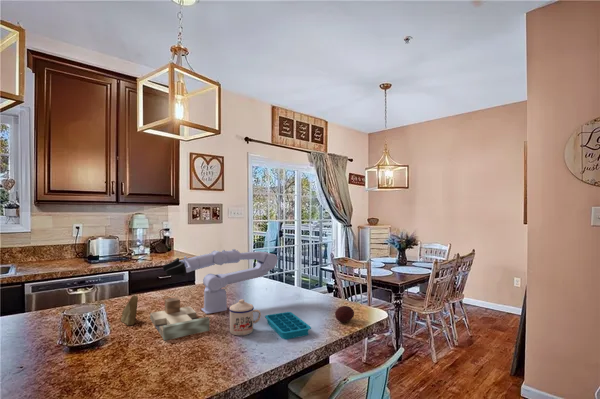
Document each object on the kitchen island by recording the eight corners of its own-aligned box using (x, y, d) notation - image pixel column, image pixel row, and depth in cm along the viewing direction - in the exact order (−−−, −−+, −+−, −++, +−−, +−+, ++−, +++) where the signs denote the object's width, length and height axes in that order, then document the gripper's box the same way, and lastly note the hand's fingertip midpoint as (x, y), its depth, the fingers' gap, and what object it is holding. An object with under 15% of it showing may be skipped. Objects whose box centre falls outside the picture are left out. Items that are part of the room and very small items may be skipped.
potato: (357, 320, 131) (357, 305, 131) (345, 326, 124) (345, 311, 124) (342, 316, 136) (342, 302, 136) (329, 322, 129) (329, 307, 129)
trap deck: (189, 311, 142) (189, 301, 142) (209, 330, 121) (209, 318, 121) (150, 319, 133) (150, 308, 133) (164, 340, 112) (164, 327, 112)
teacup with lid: (231, 337, 114) (231, 304, 114) (227, 328, 122) (227, 298, 123) (264, 332, 119) (264, 300, 119) (257, 324, 127) (257, 294, 127)
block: (176, 308, 139) (177, 297, 139) (179, 311, 134) (180, 299, 135) (164, 310, 136) (164, 299, 136) (167, 314, 132) (167, 301, 132)
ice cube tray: (282, 342, 111) (282, 333, 111) (263, 322, 129) (263, 315, 129) (312, 336, 116) (312, 328, 116) (290, 318, 134) (290, 311, 134)
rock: (140, 319, 126) (149, 308, 136) (126, 303, 124) (135, 293, 134) (118, 336, 125) (127, 324, 135) (102, 320, 124) (114, 309, 134)
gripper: (192, 250, 147) (160, 258, 140) (200, 257, 134) (166, 265, 127) (194, 265, 148) (163, 273, 141) (202, 273, 135) (168, 282, 128)
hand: (164, 270), depth 134 cm, fingers open, 7 cm apart
